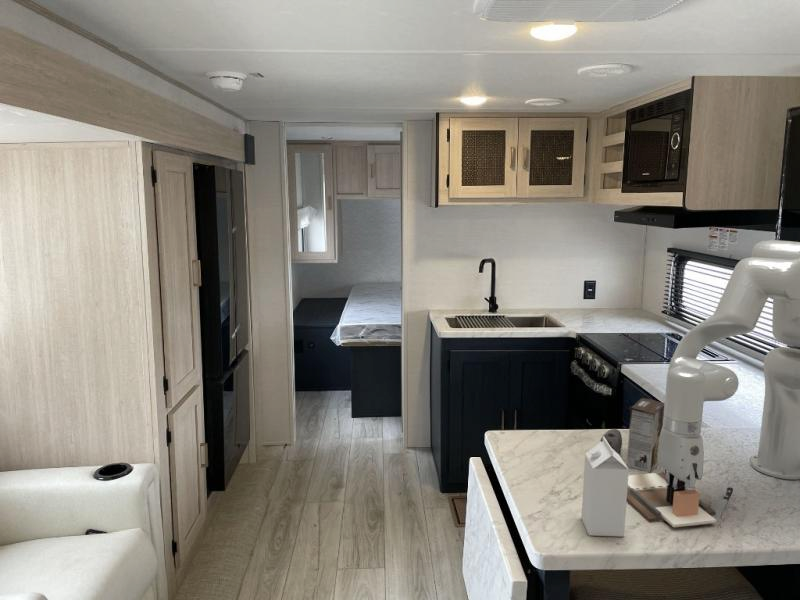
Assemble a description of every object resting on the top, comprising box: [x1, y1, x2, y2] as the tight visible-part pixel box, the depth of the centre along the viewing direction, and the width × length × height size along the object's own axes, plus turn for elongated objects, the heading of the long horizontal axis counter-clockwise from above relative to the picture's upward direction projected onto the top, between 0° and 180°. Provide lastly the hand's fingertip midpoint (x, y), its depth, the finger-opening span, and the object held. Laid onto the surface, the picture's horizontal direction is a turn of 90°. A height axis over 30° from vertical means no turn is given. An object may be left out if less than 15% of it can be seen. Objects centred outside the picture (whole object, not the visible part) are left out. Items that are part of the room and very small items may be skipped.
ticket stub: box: [656, 489, 717, 528], centre depth 131 cm, size 10×7×6 cm
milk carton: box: [580, 435, 630, 537], centre depth 127 cm, size 7×7×19 cm
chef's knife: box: [709, 487, 734, 524], centre depth 138 cm, size 19×1×3 cm
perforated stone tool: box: [600, 428, 623, 455], centre depth 163 cm, size 15×5×7 cm, turn 150°
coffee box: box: [626, 397, 665, 474], centre depth 157 cm, size 9×6×16 cm
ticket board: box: [626, 472, 716, 523], centre depth 141 cm, size 16×19×2 cm
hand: (674, 502), depth 135 cm, fingers closed
